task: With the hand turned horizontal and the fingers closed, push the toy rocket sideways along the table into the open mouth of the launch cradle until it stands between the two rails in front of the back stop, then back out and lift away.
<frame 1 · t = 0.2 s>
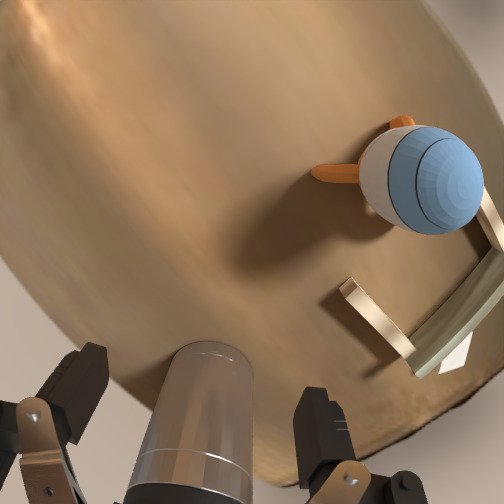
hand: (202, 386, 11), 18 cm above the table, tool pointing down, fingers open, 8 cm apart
fin block: (444, 340, 32), on the table
toy rocket: (357, 168, 26), on the table
cradle: (428, 256, 28), on the table
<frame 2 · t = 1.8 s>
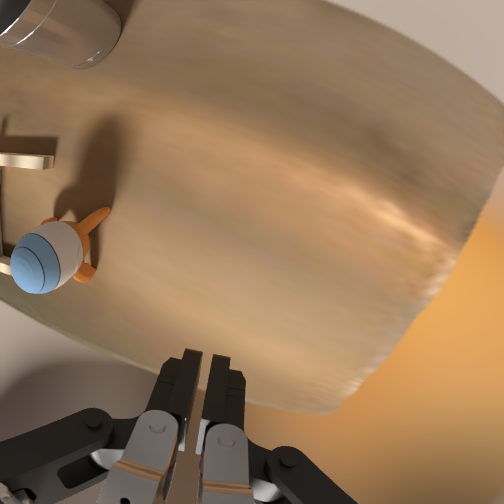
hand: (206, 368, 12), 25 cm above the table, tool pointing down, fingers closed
toy rocket: (91, 229, 36), on the table
cradle: (26, 216, 36), on the table
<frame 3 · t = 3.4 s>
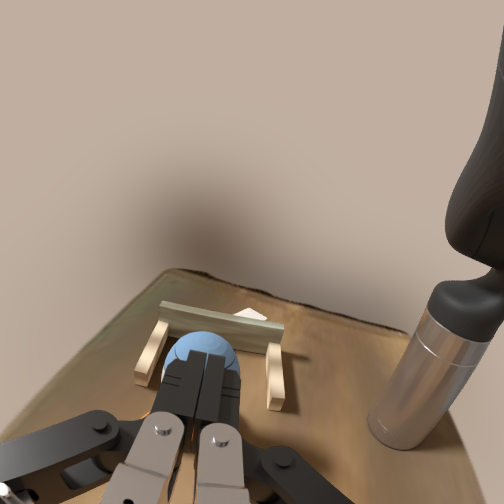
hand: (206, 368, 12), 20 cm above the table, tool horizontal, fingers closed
fin block: (245, 332, 50), on the table
toy rocket: (198, 446, 27), on the table
cradle: (211, 374, 39), on the table
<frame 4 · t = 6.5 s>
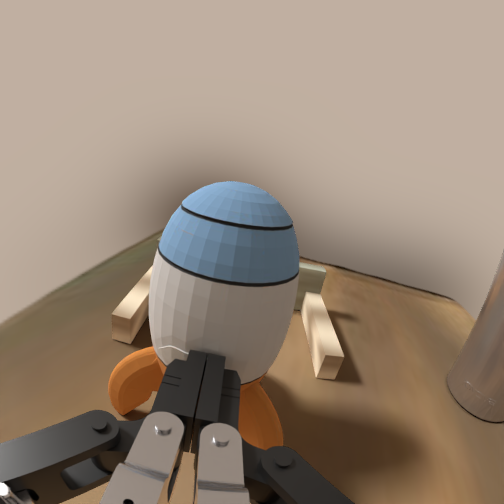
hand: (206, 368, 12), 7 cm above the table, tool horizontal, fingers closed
toy rocket: (212, 428, 17), on the table, touching gripper
cradle: (228, 330, 27), on the table
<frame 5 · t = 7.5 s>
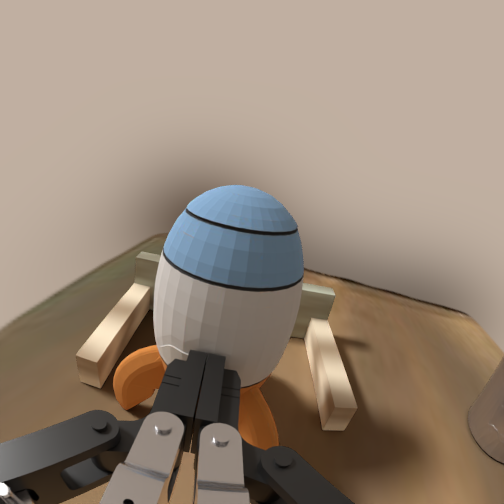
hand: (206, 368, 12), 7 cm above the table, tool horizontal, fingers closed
toy rocket: (213, 430, 17), on the table, touching gripper
cradle: (218, 369, 22), on the table
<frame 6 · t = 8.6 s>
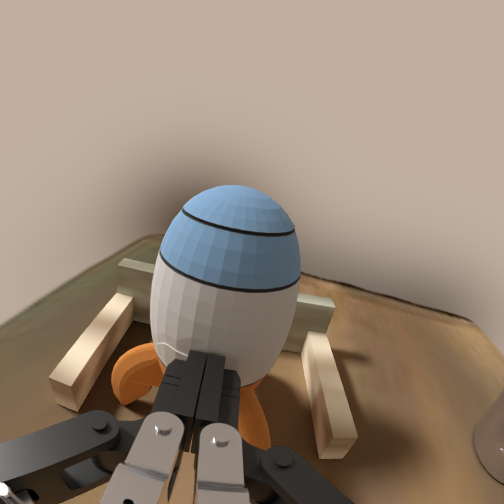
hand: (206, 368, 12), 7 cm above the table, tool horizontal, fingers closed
toy rocket: (209, 429, 17), on the table, touching gripper
cradle: (205, 390, 20), on the table
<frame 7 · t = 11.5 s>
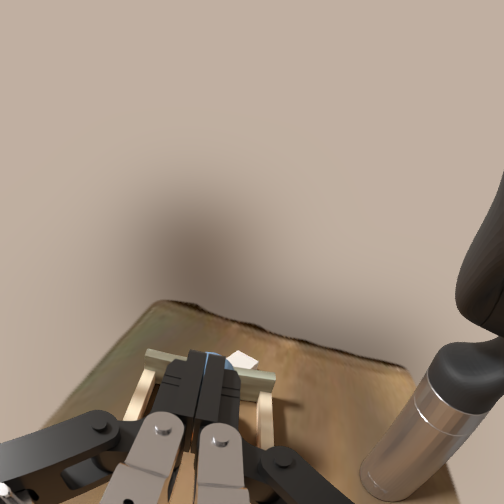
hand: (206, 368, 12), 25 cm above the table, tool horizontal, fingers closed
fin block: (236, 376, 46), on the table
cradle: (199, 426, 35), on the table
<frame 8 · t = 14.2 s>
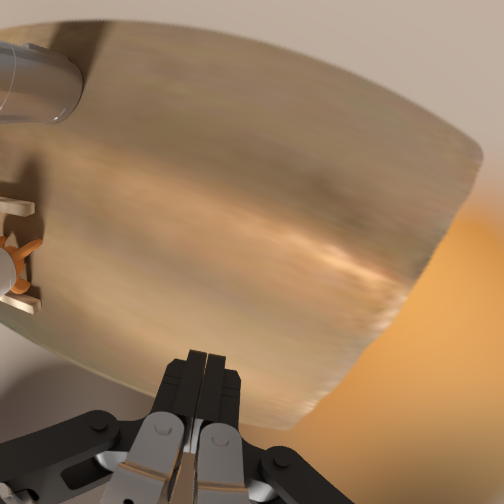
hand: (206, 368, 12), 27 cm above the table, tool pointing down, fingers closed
toy rocket: (29, 252, 40), on the table
cradle: (15, 252, 40), on the table
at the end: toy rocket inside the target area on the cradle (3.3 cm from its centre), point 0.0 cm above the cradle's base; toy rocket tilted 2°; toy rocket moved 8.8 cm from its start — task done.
